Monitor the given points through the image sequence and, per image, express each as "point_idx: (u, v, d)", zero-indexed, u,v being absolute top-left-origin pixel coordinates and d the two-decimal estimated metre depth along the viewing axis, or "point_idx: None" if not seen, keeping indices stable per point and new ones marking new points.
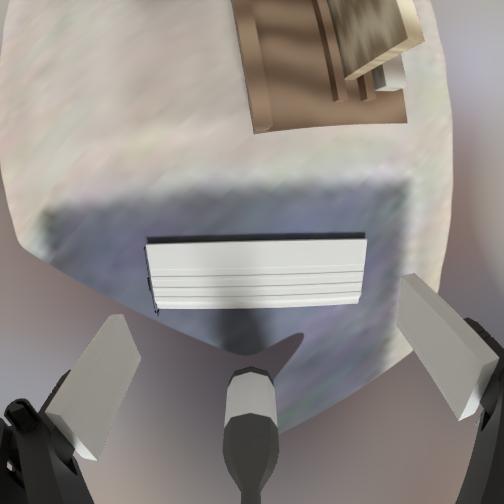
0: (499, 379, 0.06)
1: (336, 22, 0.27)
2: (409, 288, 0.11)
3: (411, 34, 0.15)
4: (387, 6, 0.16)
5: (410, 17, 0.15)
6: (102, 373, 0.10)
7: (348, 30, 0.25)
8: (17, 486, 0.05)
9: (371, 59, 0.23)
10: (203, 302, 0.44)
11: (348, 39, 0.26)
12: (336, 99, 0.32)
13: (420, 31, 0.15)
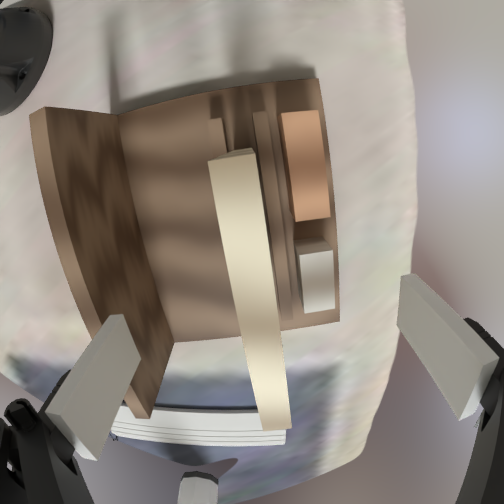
0: (499, 379, 0.06)
1: None
2: (409, 288, 0.11)
3: (270, 426, 0.14)
4: None
5: (275, 407, 0.14)
6: (102, 373, 0.10)
7: None
8: (17, 486, 0.05)
9: None
10: (149, 438, 0.43)
11: None
12: None
13: (287, 420, 0.14)
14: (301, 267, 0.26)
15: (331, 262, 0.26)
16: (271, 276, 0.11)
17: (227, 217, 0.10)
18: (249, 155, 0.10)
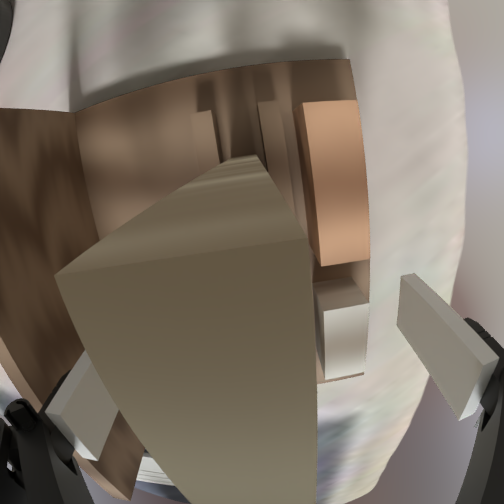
0: (499, 379, 0.06)
1: None
2: (409, 288, 0.11)
3: None
4: None
5: None
6: None
7: None
8: (17, 486, 0.05)
9: None
10: (141, 479, 0.35)
11: None
12: None
13: None
14: (325, 326, 0.18)
15: (366, 318, 0.18)
16: None
17: (181, 458, 0.02)
18: (271, 250, 0.02)
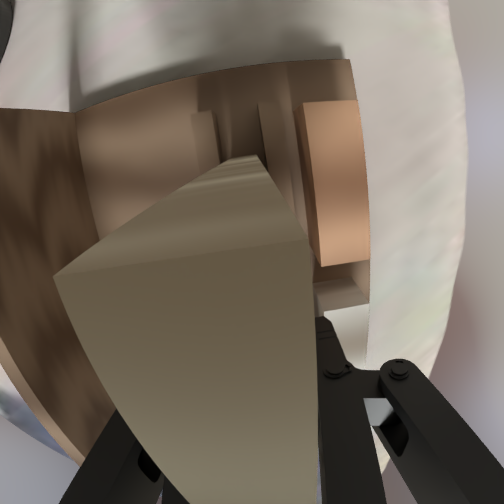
0: None
1: None
2: None
3: None
4: None
5: None
6: None
7: None
8: (142, 476, 0.06)
9: None
10: None
11: None
12: None
13: None
14: None
15: (366, 318, 0.18)
16: None
17: (181, 459, 0.02)
18: (272, 251, 0.02)
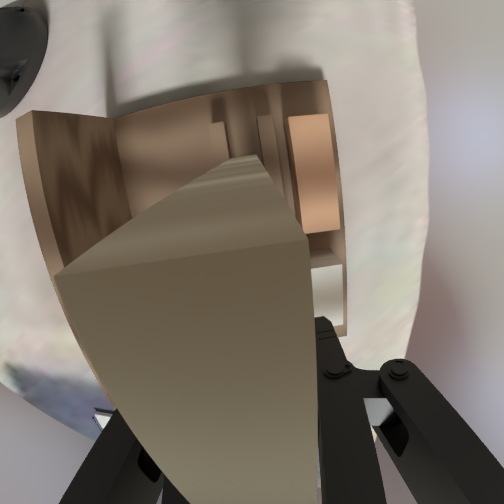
0: None
1: None
2: None
3: None
4: None
5: None
6: None
7: None
8: (142, 476, 0.06)
9: None
10: None
11: None
12: None
13: None
14: None
15: (340, 277, 0.24)
16: None
17: (181, 459, 0.02)
18: (272, 252, 0.02)
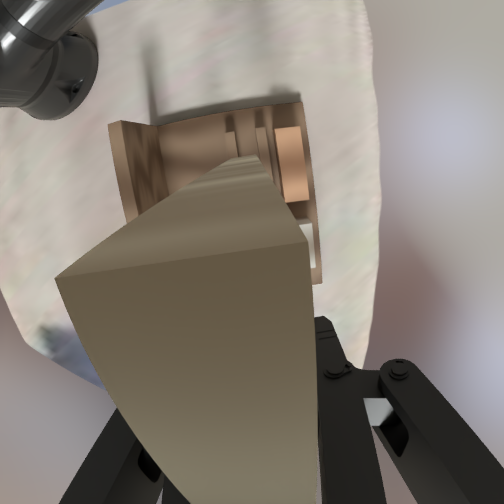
0: None
1: None
2: None
3: None
4: None
5: None
6: None
7: None
8: (142, 476, 0.06)
9: None
10: None
11: None
12: None
13: None
14: None
15: (311, 232, 0.37)
16: None
17: (181, 460, 0.02)
18: (272, 254, 0.02)
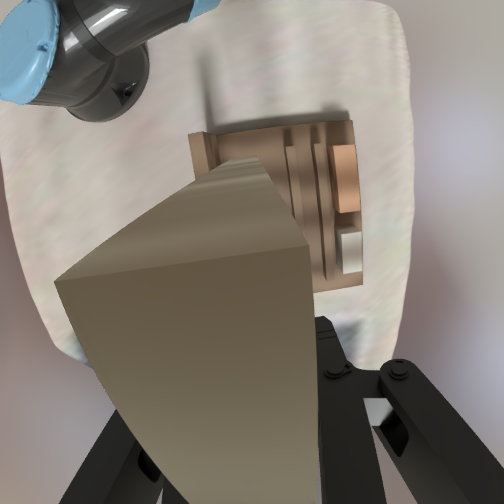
0: None
1: None
2: None
3: None
4: None
5: None
6: None
7: None
8: (142, 476, 0.06)
9: None
10: None
11: None
12: None
13: None
14: (342, 242, 0.40)
15: (360, 239, 0.40)
16: None
17: (182, 461, 0.02)
18: (272, 258, 0.02)
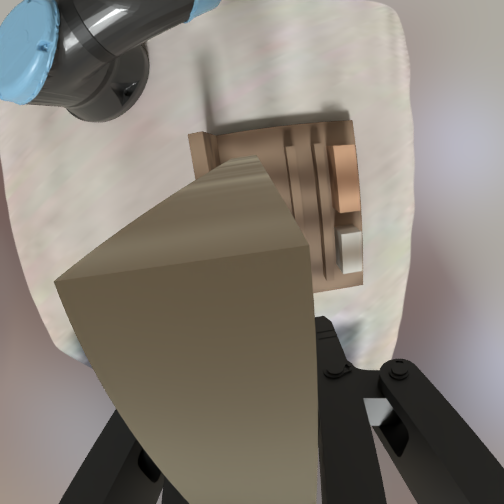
0: None
1: None
2: None
3: None
4: None
5: None
6: None
7: None
8: (142, 476, 0.06)
9: None
10: None
11: None
12: None
13: None
14: (342, 242, 0.40)
15: (360, 239, 0.40)
16: None
17: (181, 462, 0.02)
18: (272, 258, 0.02)
